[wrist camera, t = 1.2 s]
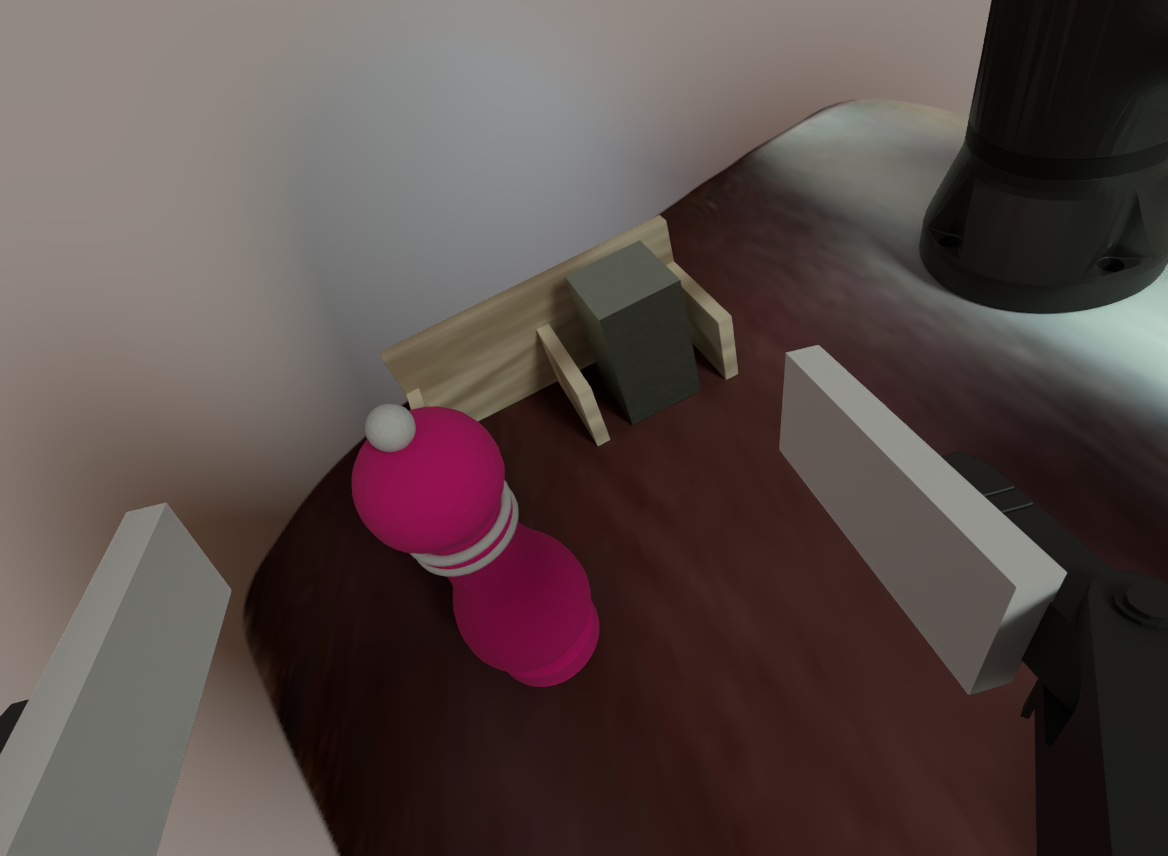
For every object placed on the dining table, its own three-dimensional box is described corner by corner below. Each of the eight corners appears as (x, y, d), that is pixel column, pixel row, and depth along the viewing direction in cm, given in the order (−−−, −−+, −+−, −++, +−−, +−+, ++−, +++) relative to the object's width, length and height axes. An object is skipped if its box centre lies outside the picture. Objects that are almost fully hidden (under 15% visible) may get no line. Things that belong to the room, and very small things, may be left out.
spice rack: (738, 373, 46) (726, 273, 39) (464, 514, 44) (404, 435, 38) (678, 310, 52) (659, 215, 45) (435, 432, 50) (379, 351, 44)
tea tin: (700, 390, 46) (680, 279, 39) (632, 425, 46) (598, 320, 38) (664, 348, 50) (639, 240, 42) (601, 380, 49) (565, 276, 42)
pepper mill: (619, 679, 34) (477, 461, 20) (493, 711, 35) (266, 524, 20) (597, 563, 39) (471, 319, 24) (487, 593, 40) (300, 373, 25)
